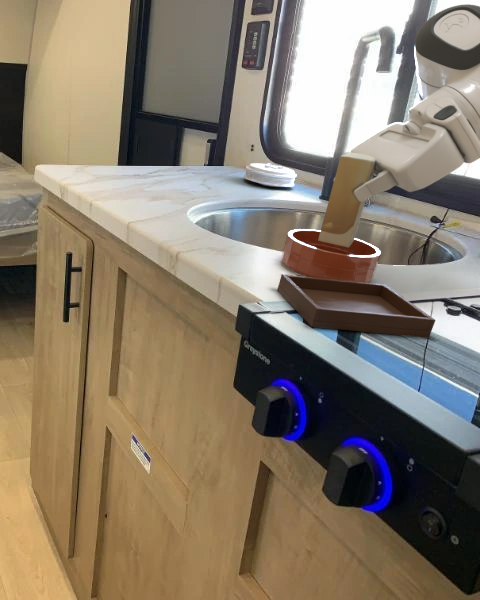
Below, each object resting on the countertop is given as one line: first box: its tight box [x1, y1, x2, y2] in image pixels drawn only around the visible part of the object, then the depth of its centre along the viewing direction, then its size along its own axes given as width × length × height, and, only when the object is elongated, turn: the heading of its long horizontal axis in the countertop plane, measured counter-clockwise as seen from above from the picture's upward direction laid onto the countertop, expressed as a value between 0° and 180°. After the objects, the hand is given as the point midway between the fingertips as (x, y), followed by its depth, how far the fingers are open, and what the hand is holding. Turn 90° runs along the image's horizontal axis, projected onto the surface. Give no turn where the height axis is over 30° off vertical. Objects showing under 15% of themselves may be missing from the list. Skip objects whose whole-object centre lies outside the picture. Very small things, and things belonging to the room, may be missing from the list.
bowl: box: [281, 228, 382, 283], centre depth 88 cm, size 13×13×4 cm
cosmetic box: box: [318, 151, 376, 247], centre depth 84 cm, size 6×4×12 cm
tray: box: [277, 273, 436, 339], centre depth 73 cm, size 14×11×2 cm
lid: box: [243, 162, 298, 188], centre depth 152 cm, size 13×13×5 cm
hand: (345, 190), depth 84 cm, fingers closed on cosmetic box, 7 cm apart
